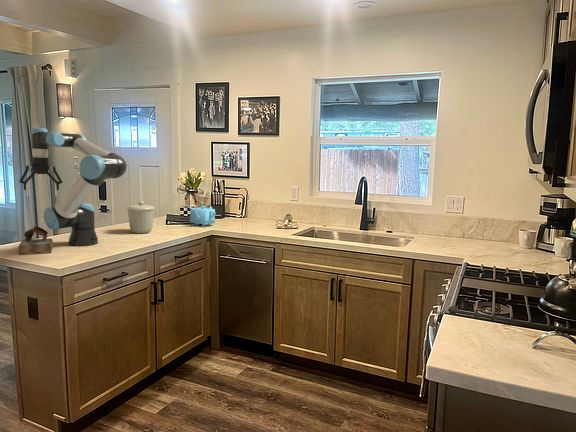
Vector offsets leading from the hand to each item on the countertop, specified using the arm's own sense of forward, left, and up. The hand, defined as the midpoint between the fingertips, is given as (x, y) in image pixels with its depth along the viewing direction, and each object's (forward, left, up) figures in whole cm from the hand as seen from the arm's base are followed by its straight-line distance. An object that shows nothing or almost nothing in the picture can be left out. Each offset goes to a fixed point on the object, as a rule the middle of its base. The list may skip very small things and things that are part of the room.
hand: (41, 195), depth 232 cm
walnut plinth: (+2, +19, -27) cm, 33 cm away
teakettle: (-101, -44, -27) cm, 114 cm away
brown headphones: (+3, +17, -22) cm, 28 cm away
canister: (-55, -24, -27) cm, 66 cm away
